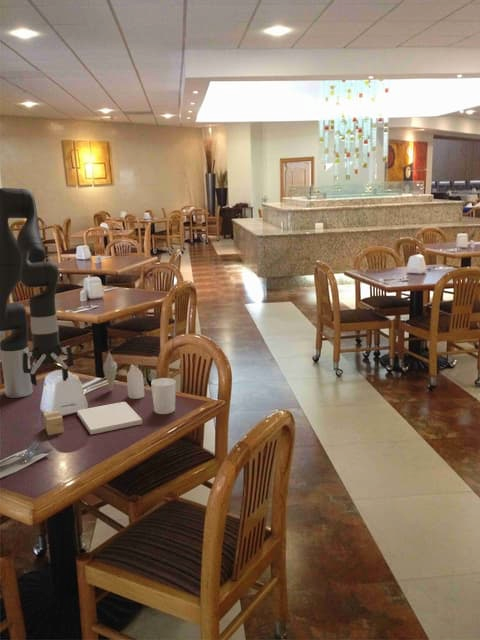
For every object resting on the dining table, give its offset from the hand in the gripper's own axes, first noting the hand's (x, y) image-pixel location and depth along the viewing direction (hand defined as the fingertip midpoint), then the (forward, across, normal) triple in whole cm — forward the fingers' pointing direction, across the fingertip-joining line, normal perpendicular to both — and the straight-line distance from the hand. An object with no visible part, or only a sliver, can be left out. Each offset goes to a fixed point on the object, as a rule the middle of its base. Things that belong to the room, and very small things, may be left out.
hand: (50, 382), depth 170 cm
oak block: (+15, 0, 0) cm, 15 cm away
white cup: (+15, -35, +2) cm, 38 cm away
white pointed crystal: (+15, -31, -16) cm, 38 cm away
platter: (+15, -17, 0) cm, 23 cm away
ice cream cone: (+15, -25, -26) cm, 39 cm away
